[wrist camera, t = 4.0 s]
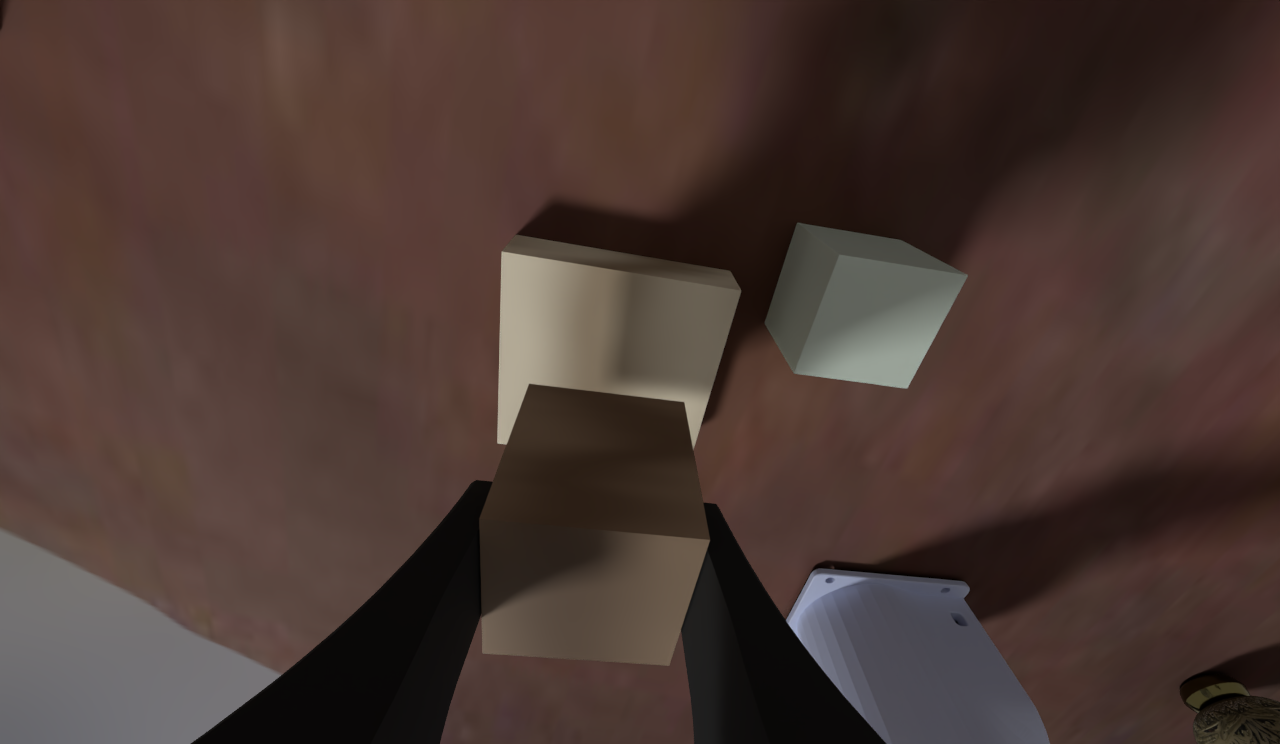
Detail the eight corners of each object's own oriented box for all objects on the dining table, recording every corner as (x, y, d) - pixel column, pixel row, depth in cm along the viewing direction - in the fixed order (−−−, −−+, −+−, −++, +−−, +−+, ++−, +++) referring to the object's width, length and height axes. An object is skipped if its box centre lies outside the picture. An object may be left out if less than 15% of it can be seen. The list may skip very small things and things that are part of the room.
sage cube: (899, 239, 17) (968, 275, 14) (857, 335, 19) (906, 388, 16) (796, 222, 17) (839, 254, 13) (763, 322, 19) (793, 373, 15)
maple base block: (727, 267, 18) (741, 290, 16) (682, 430, 22) (688, 466, 20) (517, 231, 17) (501, 251, 15) (511, 407, 21) (497, 443, 19)
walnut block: (684, 402, 14) (709, 540, 9) (657, 511, 16) (669, 665, 11) (529, 383, 13) (479, 519, 9) (524, 499, 15) (482, 653, 11)
